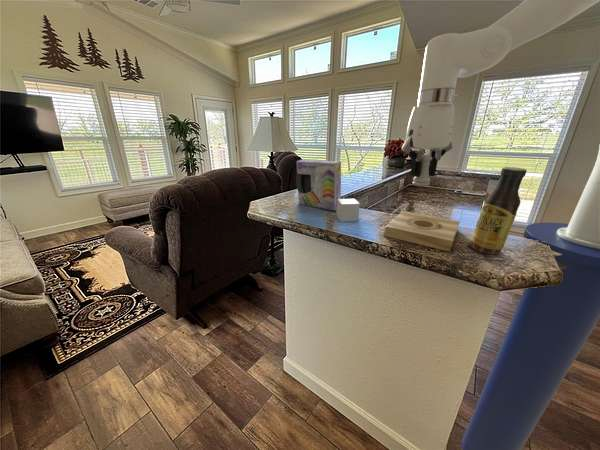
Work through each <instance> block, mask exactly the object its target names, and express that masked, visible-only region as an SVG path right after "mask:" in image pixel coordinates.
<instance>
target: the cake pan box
mask: <svg viewBox="0 0 600 450" xmlns="http://www.w3.org/2000/svg"><path fill="white" fill-rule="evenodd" d="M295 163H296V176H295V185H296V190H297V192H298V196H297V197H298V204H300V205H304V206H309V207H314V208H318V209H323V210H329V211H334V212H335V211H337V199H342V161H335V160H333V161H332V160H324V159H307V158H306V159H299V160H296V162H295Z"/></svg>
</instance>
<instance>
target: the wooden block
mask: <svg viewBox="0 0 600 450" xmlns="http://www.w3.org/2000/svg"><path fill="white" fill-rule="evenodd" d="M460 222H461V221H460V220H457V219H452V218H451V219H450V218H445V217H439V216H434V215H428V214H421V213H416V212H409V211H404V210H401V212H400V213H398V214H397V215H396V216H395V217H394V218H393V219H392V220H391V221H390V222H389V223H388V224H386V226H385V230H384V237H387V238H391V239H396V240H399V241H404V242H407V243H413V244H416V245H421V246H425V247H427V248H433V249H437V250H440V251H444V252H448V253H449V252H451V250H452V247H453V244H454V242H455V238H456V236H457V233H458V231H459V226H460Z"/></svg>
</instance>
